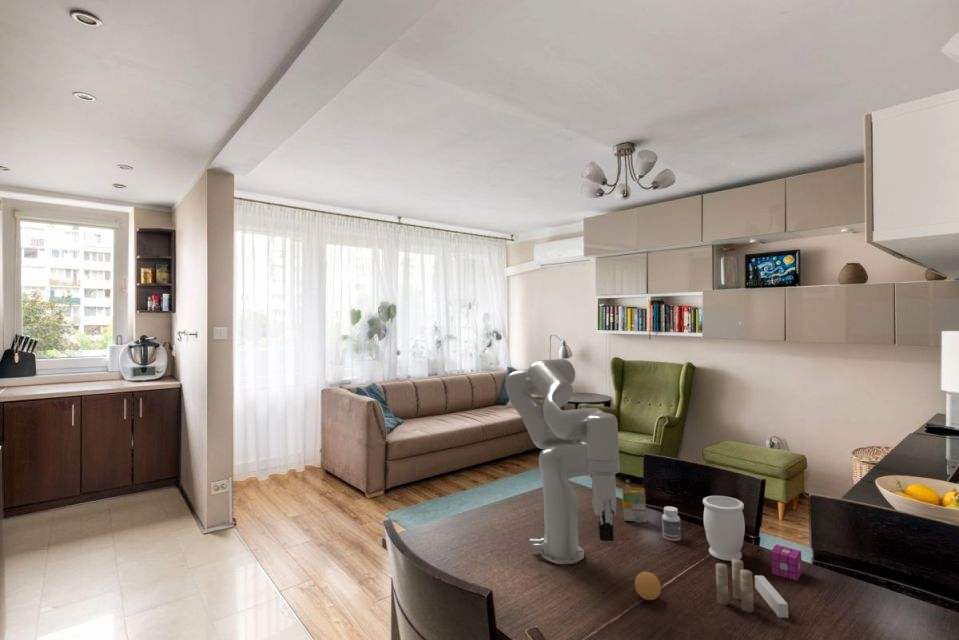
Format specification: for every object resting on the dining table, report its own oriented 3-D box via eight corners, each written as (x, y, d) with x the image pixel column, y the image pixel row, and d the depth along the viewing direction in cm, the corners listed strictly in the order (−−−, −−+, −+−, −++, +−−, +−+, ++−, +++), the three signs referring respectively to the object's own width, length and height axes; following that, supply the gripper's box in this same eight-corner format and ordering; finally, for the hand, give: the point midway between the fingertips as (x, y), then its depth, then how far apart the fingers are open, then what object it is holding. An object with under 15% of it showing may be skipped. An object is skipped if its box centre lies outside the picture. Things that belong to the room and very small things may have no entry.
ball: (637, 604, 111) (636, 579, 111) (633, 590, 116) (632, 566, 117) (664, 606, 110) (663, 580, 110) (658, 591, 116) (657, 567, 116)
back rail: (778, 617, 104) (778, 603, 104) (755, 587, 116) (754, 575, 116) (788, 617, 104) (787, 604, 104) (763, 587, 116) (763, 575, 116)
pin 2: (744, 612, 106) (742, 574, 107) (739, 605, 109) (738, 569, 109) (755, 612, 106) (753, 575, 106) (750, 606, 108) (749, 569, 109)
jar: (730, 567, 126) (727, 511, 126) (696, 551, 135) (694, 499, 135) (754, 557, 131) (752, 503, 131) (720, 542, 140) (718, 492, 140)
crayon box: (645, 519, 158) (644, 485, 159) (646, 523, 156) (645, 488, 156) (623, 518, 160) (621, 484, 160) (623, 521, 157) (622, 487, 157)
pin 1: (735, 599, 111) (734, 563, 112) (731, 593, 114) (730, 558, 114) (746, 599, 111) (744, 563, 111) (742, 594, 113) (740, 559, 114)
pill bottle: (682, 541, 142) (681, 512, 142) (664, 540, 143) (663, 511, 143) (678, 534, 147) (677, 505, 147) (661, 533, 148) (660, 505, 148)
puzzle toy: (802, 572, 122) (801, 550, 123) (797, 581, 118) (796, 558, 118) (776, 565, 126) (775, 544, 127) (771, 573, 122) (770, 551, 122)
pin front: (719, 604, 110) (717, 568, 110) (715, 598, 112) (714, 563, 112) (730, 605, 109) (728, 568, 109) (726, 599, 112) (724, 563, 112)
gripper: (585, 456, 123) (588, 526, 122) (590, 473, 108) (593, 553, 108) (614, 456, 122) (617, 527, 121) (624, 473, 107) (627, 554, 107)
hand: (606, 539), depth 115 cm, fingers closed
